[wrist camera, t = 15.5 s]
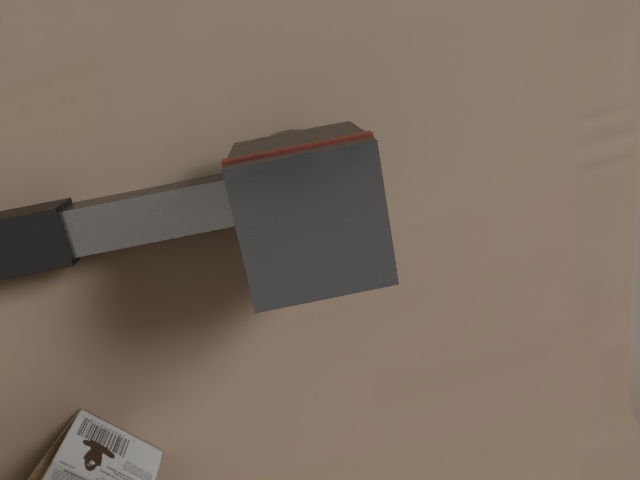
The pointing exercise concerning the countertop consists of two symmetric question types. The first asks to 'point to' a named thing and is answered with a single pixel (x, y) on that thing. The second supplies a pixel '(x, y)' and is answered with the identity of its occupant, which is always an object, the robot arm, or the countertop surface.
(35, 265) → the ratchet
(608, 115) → the countertop surface
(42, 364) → the countertop surface
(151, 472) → the coffee box
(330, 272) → the red-striped grey cube
